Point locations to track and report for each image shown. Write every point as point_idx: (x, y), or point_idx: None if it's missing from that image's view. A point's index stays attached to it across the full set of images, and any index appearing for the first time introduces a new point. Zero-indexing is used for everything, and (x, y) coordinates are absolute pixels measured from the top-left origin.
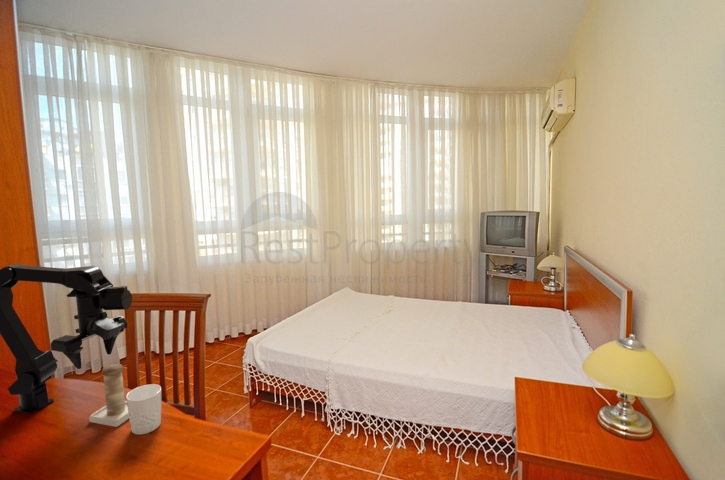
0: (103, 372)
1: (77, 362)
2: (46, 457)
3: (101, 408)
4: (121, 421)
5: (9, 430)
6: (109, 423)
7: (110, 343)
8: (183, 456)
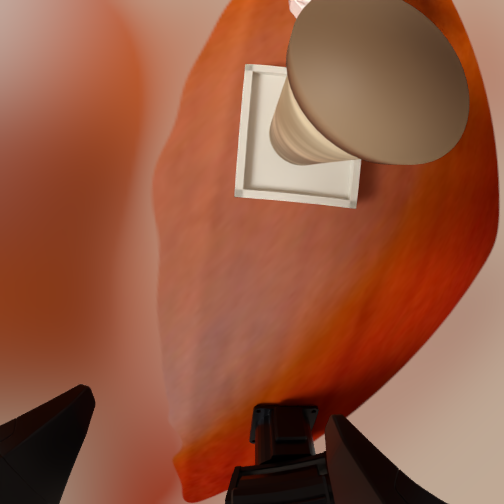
0: (464, 111)
1: (381, 453)
2: (471, 197)
3: (305, 201)
4: None
5: (379, 385)
6: None
7: (38, 442)
8: None
